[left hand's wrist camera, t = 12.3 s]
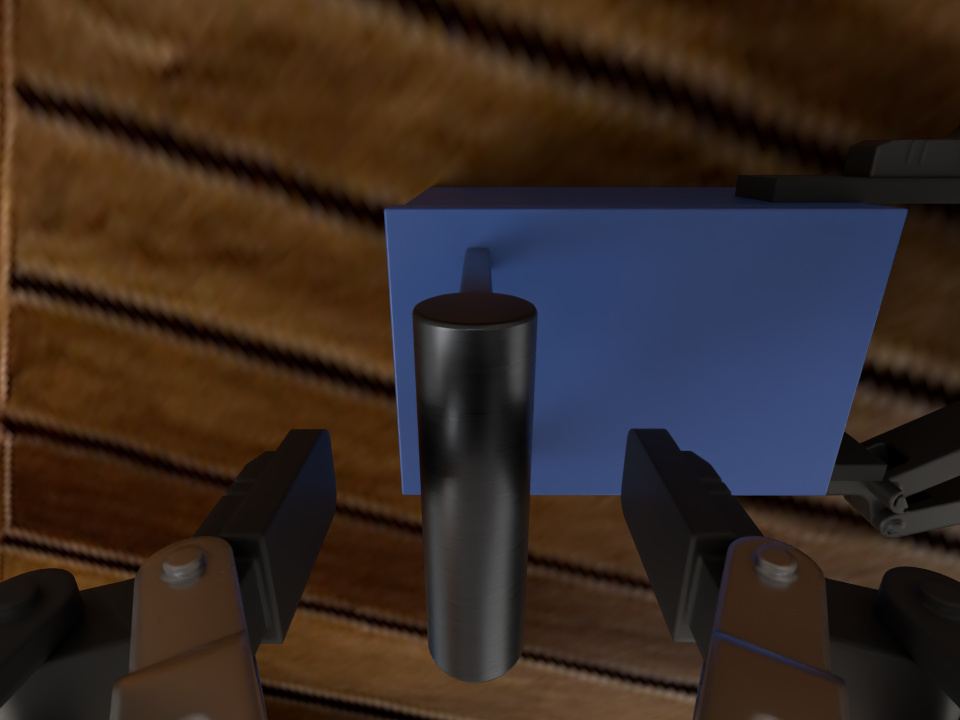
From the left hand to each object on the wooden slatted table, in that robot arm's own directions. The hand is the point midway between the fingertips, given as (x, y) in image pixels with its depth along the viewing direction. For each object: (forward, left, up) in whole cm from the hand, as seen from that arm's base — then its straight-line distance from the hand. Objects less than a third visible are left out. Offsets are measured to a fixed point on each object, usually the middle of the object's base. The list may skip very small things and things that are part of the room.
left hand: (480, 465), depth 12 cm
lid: (-2, +4, -7) cm, 8 cm away
